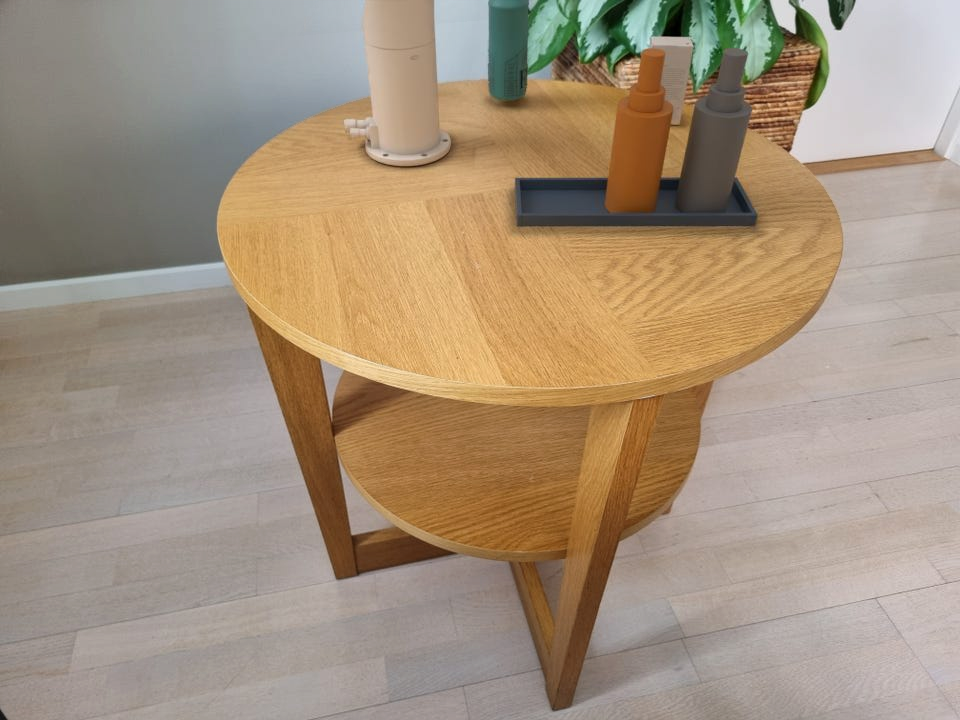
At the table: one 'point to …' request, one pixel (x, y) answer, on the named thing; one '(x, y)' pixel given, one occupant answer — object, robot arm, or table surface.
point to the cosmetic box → (675, 70)
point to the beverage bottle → (508, 48)
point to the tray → (587, 208)
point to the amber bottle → (640, 140)
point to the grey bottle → (715, 140)
